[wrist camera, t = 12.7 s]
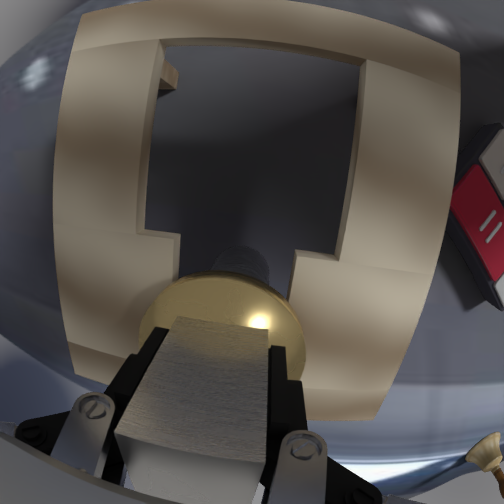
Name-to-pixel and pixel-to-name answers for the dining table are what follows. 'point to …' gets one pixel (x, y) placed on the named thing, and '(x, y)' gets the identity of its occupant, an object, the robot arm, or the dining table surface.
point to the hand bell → (488, 457)
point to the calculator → (481, 211)
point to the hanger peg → (209, 383)
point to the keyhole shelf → (304, 262)
